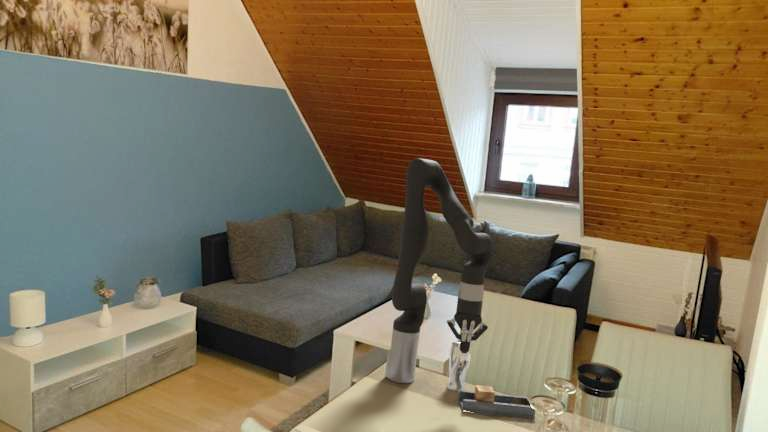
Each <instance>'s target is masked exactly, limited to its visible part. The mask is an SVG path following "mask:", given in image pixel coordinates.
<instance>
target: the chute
mask: <svg viewBox="0 0 768 432" xmlns="http://www.w3.org/2000/svg"><path fill="white" fill-rule="evenodd" d="M474 394H475V390H474V391H471V390H465V391H464V390H460V391H459V392H458V399H457V402H458V404H459V406H460V409H461V408H462V409H463V410H466V411H470V412H474V413H478V414H477V415H485V416H494V417H495V416H496V417H505V418H515V419H523V420H535V418H536V417H535V415H536V409H535V410H534V409H532V408H531V406H530V403H529V401H531V399H530V398H529V397H528V396H521V395H510V394H501V393H495V396H494V402H488V401H478V400H474ZM462 409H461V410H462ZM474 413H473V414H474Z"/></svg>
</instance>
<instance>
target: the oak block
mask: <svg viewBox="0 0 768 432" xmlns="http://www.w3.org/2000/svg"><path fill="white" fill-rule="evenodd" d="M474 392H475V394H474V400H478V401H488V402H494V396H495V394H496V392H495V391H494V388H493V387H492V386H490V385H481V384H475V387H474Z"/></svg>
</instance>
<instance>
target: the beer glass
mask: <svg viewBox="0 0 768 432" xmlns="http://www.w3.org/2000/svg"><path fill="white" fill-rule="evenodd" d="M459 347H460V341H459V342H458V341H453V342H451V346H450V351H449V355H448V356H449V358H448V367H449V371H448V372H449V374H448V375H449V376H448V382H447V384H446V388H447V389H448V390H449V391H452V392H456V393H459V391H460V390H464V391H466V377H467V372H468V370H469V367H470V363H471V354H472V353H471V351H472V346H471V345H470V348H469V352H467V354H466V353H462V352H461V351H460V349H459Z"/></svg>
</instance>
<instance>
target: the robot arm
mask: <svg viewBox="0 0 768 432" xmlns="http://www.w3.org/2000/svg"><path fill="white" fill-rule="evenodd" d="M405 177H406V178H405V203H404V204H405V205H404V214H403V221H402V222H403V223H402V229H401V237H400V238H401V239H400V247H399V254H398V260H397V267H396V270H395V271H396V272H395V276H394V282H393V285H392V291H391V301H392V306H393V308H394V309H395V310H396V311H399V312H403V313H402V314H401V315H399V316H398V317H396V318H395V319H394V320H393V326H392V335H391V342H390V348H389V349H388V350H387V357H386V363H385V364H386V365H385V371H384V372H385V373H384V377H385V378H387V379H388V380H389V381H391V382H393V383H399V384H410V383H413V382H414V381H415V376H416V375H415V374H416V367H417V366H416V365H417V359H418V358H417V357H418V349H419V340H420V334H421V333H420V332H421V328H422V325H423V323H424V320H425V313H426V310H427V309H426V308H427V303H428V302H427V301H428V294H427V289H426V288H425V286H424V285H423V284H422V283H419V282H413V277H414V274H415V269H416V268H417V266H418V264H419V263H420V261H421V260H422V258H423V256H424V255H425V252H426V251H427V249H428V246H429V240H430V230H431V225H430V220H429V217H428V214H427V212H426V209H425V205H424V196H425V189H426V188H429V189H430V190H431V191H433V193H434V194H435V195H436V197H437V199H438V200H439V205H440V210H441V213H442V216H443V218H444V220H445V221H446V223H447V224H448V225H449V227H450V228H451V230H452V231H453V233H454V236H455V239H456V241H457V244H458V246H459V249H460V250H461V251H462V253H464V254H465V255H466V256H469V257H470V256H471V257H470V259H469V261H468V262H465V263H464V264H463V265H462V269H461V275H460V282H459V283H460V284H459V289H458V292H457V301H456V302H457V305H456V312H455V313H454V315H453V318H451V319H447V320H446V324H447V325H448V327H449V329H450V330H451V332H452V334H453V335H454V337H455V338H456V339H457V340H459V342H460V347H459V349H460V351H461V352H462V353H466V354H467V352H469V348H470V346H471V342H472V341H477V340H478V339H479V338H480V337H481V336H482V335H483V334H484V333H485V332H486V331H487V330H488V328H489V326H488V325H487V324H486V323H484V322H483V318H482V309H483V300H484V292H485V291H484V289H485V288H484V286H485V285H484V284H485V279H486V278H485V277H486V271H487V268H488V266H489V263H490V261H491V257H492V253H493V249H494V244H493V243H494V242H493V239H492V237H491V236H490V235H489V233H485V232H475V231H474V230H473V227H474V226H475V225H474V224H475V222H474V219H473V217H472V216H471V215H470V213H468V211H467V209H466V208H465V207H464V205H463V204H462V203H461V202H460V200H459V198H458V197H457V195H456V193H455V191H454V189H453V187H452V185H451V183H450V182H449V180H448V178H447V176H446V174H445V172H444V170H443V168H442V166H441V165H440V163H439V162H437V161H435V160H432V159H427V158H421V157H415V158H413V159H412V160H411V161H410V162H409V164H408V165H407V169H406V176H405ZM456 324H457V326H458V327H459V329H460V330H459V331H460V333H459V332H458V331H457V329H456ZM476 328H477V329H476ZM474 330H475V331H474Z"/></svg>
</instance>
